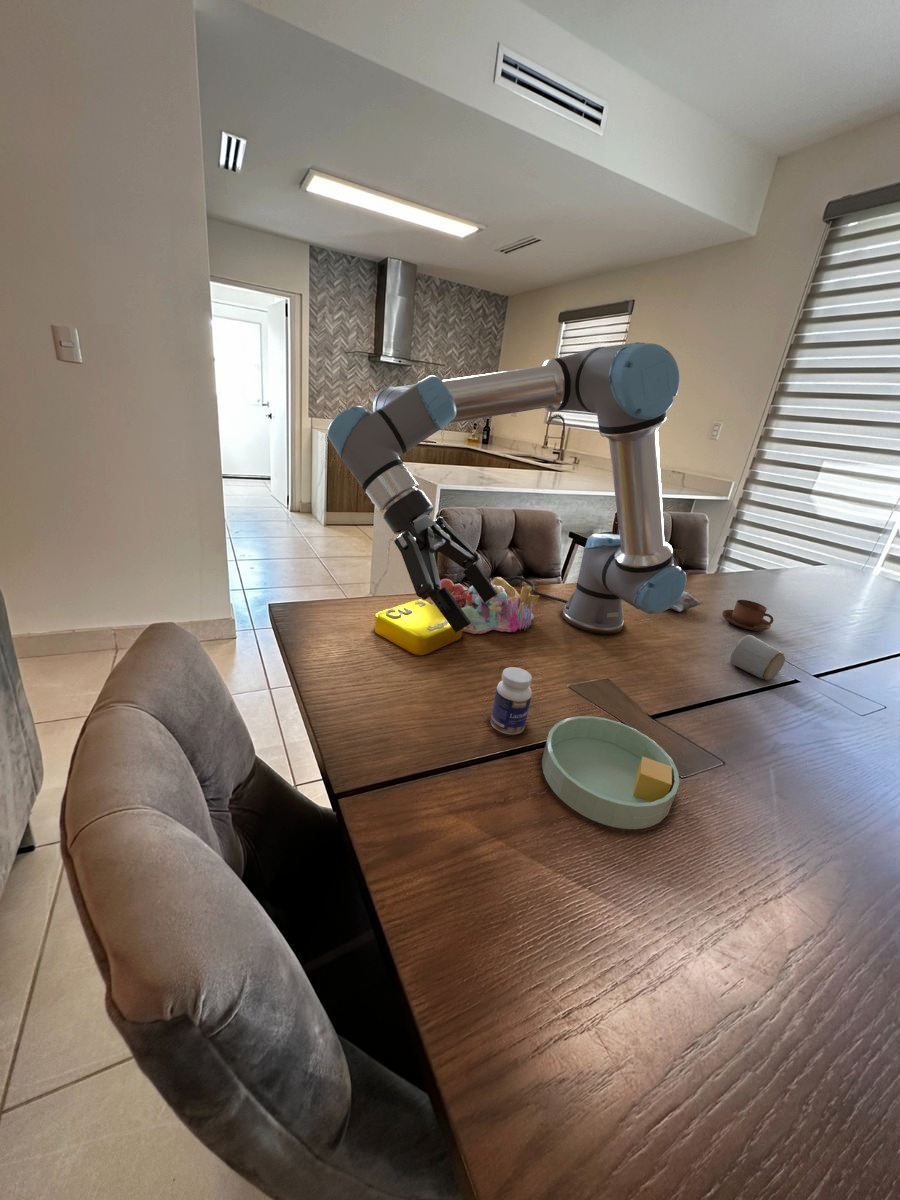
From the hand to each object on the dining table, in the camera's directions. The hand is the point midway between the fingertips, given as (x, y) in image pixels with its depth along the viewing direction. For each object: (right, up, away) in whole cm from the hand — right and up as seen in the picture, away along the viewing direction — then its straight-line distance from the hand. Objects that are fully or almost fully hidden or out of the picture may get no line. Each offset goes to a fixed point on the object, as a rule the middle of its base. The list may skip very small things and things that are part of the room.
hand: (478, 612), depth 75 cm
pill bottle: (+5, -19, +3) cm, 20 cm away
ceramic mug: (+65, -14, +32) cm, 73 cm away
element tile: (-12, -6, +30) cm, 33 cm away
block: (+24, -25, -8) cm, 36 cm away
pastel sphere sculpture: (+4, -2, +44) cm, 44 cm away
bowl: (+18, -24, -6) cm, 31 cm away
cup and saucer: (+78, -5, +58) cm, 97 cm away
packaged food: (+62, -1, +64) cm, 89 cm away
